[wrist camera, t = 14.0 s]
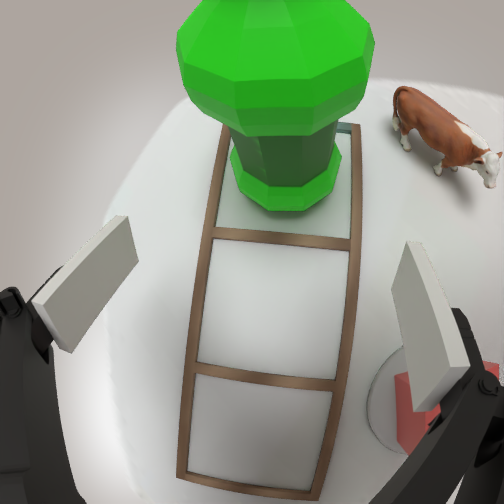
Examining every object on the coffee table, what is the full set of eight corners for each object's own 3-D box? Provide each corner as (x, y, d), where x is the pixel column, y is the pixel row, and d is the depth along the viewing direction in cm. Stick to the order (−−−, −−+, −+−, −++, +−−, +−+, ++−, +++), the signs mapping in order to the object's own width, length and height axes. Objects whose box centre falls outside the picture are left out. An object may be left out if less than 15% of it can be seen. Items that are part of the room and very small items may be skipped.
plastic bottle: (274, 120, 31) (234, -101, 6) (357, 170, 28) (428, -70, 4) (215, 187, 30) (76, -32, 6) (300, 247, 28) (312, -39, 3)
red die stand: (467, 323, 24) (518, 323, 15) (468, 426, 21) (511, 452, 13) (361, 352, 25) (390, 369, 16) (369, 461, 22) (390, 506, 14)
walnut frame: (359, 127, 29) (360, 124, 29) (317, 498, 22) (318, 501, 21) (225, 119, 32) (224, 116, 31) (178, 475, 24) (176, 477, 24)
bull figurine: (463, 213, 26) (504, 184, 18) (376, 128, 29) (393, 81, 21) (478, 189, 26) (516, 158, 18) (396, 110, 29) (414, 64, 21)
